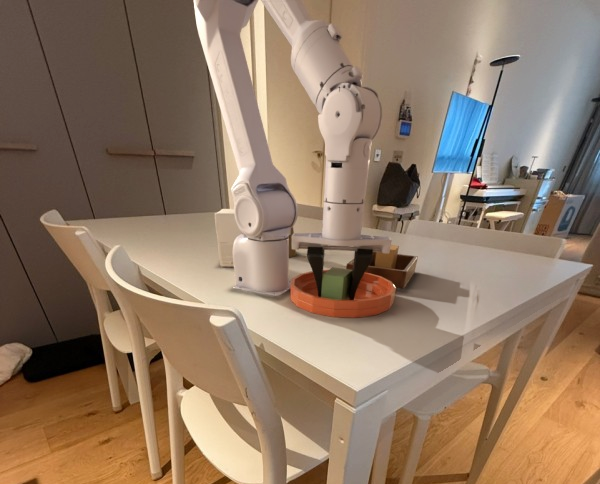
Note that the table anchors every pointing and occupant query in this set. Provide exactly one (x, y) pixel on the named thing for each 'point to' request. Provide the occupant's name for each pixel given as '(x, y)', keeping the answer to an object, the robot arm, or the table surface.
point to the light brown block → (387, 258)
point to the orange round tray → (368, 300)
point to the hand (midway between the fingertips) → (336, 297)
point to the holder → (397, 275)
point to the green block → (336, 283)
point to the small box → (226, 235)
